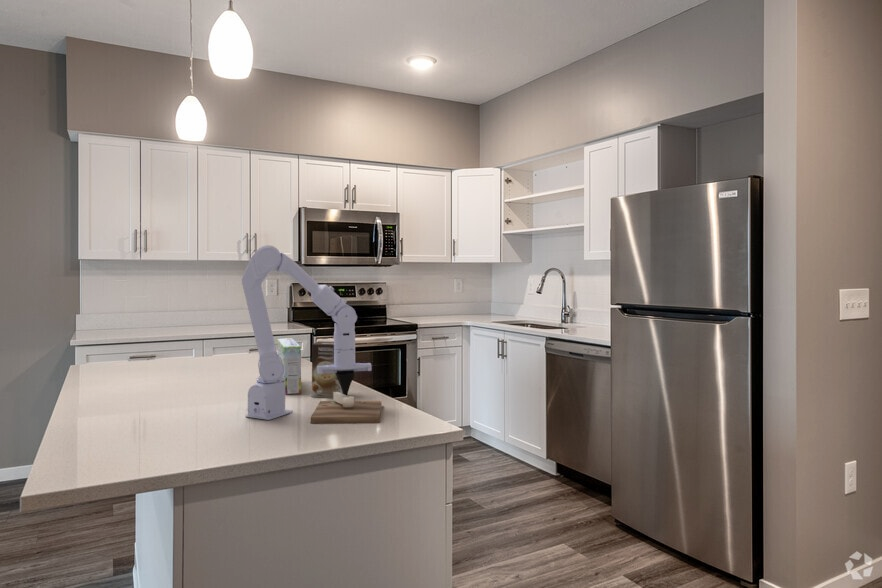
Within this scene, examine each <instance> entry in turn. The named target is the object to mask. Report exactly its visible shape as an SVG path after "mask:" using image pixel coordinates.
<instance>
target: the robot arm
mask: <svg viewBox="0 0 882 588" xmlns="http://www.w3.org/2000/svg"><path fill="white" fill-rule="evenodd" d="M249 259H250V260H249V261H248V263H247V266H246V269H245V271H244V272H243V275H242V277H241V284H242V285H241V286H242V288H243V292H244V297H245V301H246V304H247V309H248V315H249V318H250V321H251V326H252V331H253V335H254V338H255V343H256V347H257V351H258V352H257V353H258V356H259V359H258V363H257V365H258V366H257V367H258V372H259V376H258V377H256V382H255V384H253V385H251V386H250V387H249V389H248V391H247V414H245V415H244V416H245V417H246V418H252V419H253V418H254V419H260V420H266V421H267V420H268V421H270V420H274V419H276V418H279V417H282V416H286V415H288V414H291V413H293V410H292V409H286V395H285V377H283V374H284V370H285V368H284V364H283V362H282V359H281V358H280V356H279V355H278V350H277V347H276V343H275V339H274V334H273V331H272V326H271V322H270V318H269V313H268V309H267V305H266V301H265V296H264V293H263V292H264V291H263V288H262V283H264V280H265V279H266V277H267V276H268V275H269V274H270V273H271V272H272V271H274V270H275V269H276V268H277V269H276V272H281V273H283V274H287V275H289V276H290V277H291V278H292V279H293V280H295V281H296V282H297V283H298V284H299V285H301V286H302V287H303V288H304V289H305V290H306V291H307V292H309V293H310V300H311V302H312V303H314V304H315V305H316V306H317V307H318V308H319V309H320V310H322V311H323V312H324V313H325V314H326V316H330V317H331V318H332V321H333V322H334V329H333V330H334V332H333V342H334V364H332V365H323V366H317V373H318V374H322V373H335V374H336V376H337V378H338V381H339V383H340V386H341V389H342V393H343V394H344V395H347V396H349V395H348V394H349V390H350V388H351V384H352V382H353V380H354V378H355V372H372V367H373V366H372V363H371V362H367V363H366V362H364V363H363V362H362V363H360V362H356V331H355V329H356V326H355V323H356V322H357V321H358V315H357V313H356V310H355V308H353V307H352V306H350V305H349V304H347V302H348V301H347V300H346V299H345V298H342V297H340V296H339V294H337V293H336V292H335V291H334V290H335V288H334V287H333V286H331V285H329V286H328V285H327V284H319V283H318V282H317V281H316V280H315V279H313V278H312V277H311V276H310V274H308V273H307V272H306V271H305V270H304V269H303V268H302V267H301V266H300V265H299V264H298V263H297V262H296V261H294V260H293V259H292V258H291V257H289V256H288V255H286V254H285V253H283V251H282V252H280V250H279V249H278V248H277V247H275V246H273V245H270V244H268V245H267V244H265V245H263V246H261V247H259V248H258V249H257V250H256V251H255V252H254V253H253V254H252V255H251V257H250V258H249ZM334 370H335V371H334Z"/></svg>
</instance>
